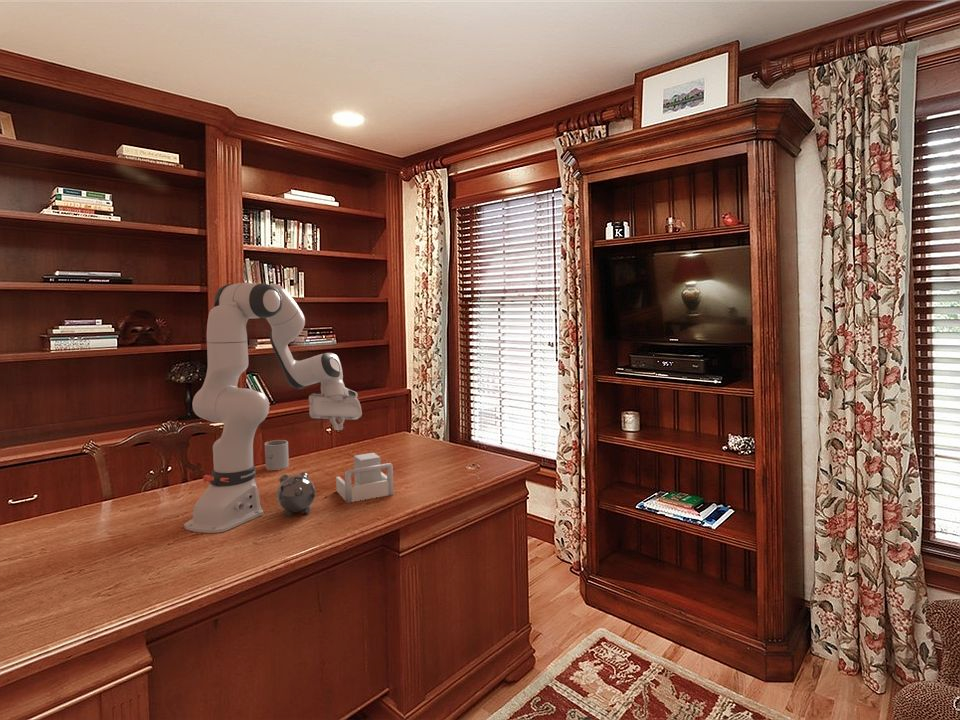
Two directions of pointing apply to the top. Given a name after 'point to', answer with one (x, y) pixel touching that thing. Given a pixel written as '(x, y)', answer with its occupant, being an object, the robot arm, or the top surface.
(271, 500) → the top surface
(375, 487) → the frame
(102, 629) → the top surface
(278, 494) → the piggy bank
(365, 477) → the supplement box
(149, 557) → the top surface
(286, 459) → the printed ceramic cup
